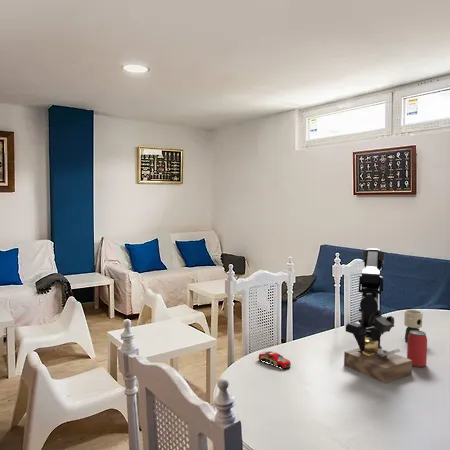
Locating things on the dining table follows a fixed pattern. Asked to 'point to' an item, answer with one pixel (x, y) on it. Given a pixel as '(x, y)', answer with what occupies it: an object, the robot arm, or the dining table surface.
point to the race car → (274, 359)
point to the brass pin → (370, 346)
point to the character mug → (412, 321)
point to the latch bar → (388, 353)
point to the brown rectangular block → (378, 365)
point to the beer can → (417, 348)
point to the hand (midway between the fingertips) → (368, 349)
